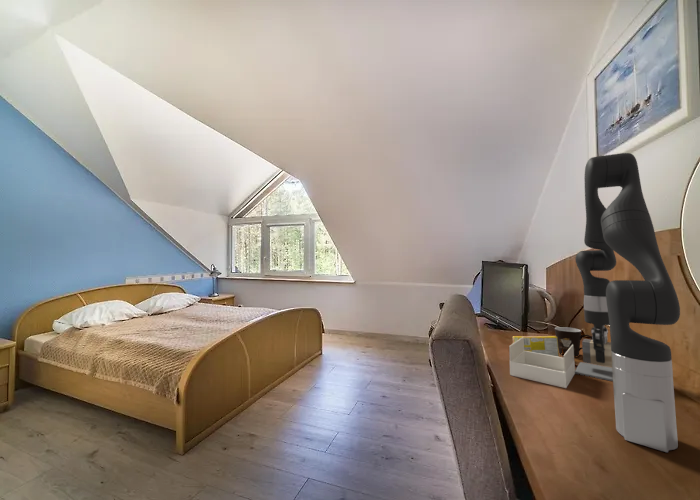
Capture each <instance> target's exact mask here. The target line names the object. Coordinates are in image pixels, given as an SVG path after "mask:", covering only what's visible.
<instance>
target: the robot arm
mask: <svg viewBox="0 0 700 500" xmlns="http://www.w3.org/2000/svg"><path fill="white" fill-rule="evenodd" d="M640 178H641V177H640V173H639V166H638V161H637V158H636V156H635V155H634V154H632V153H630V152H622V153H621V152H620V153H614V154H606V155H598V156H592V157H590V158H588V160H587V162H586V164H585V167H584V204H585V216H586V217H585V231H584V245H585V246H586V247H588V248H590V249H593V250H581V251H579V252H577V253H576V255H575V258H574V259H575V263H576V266H577V269H578V271H579V273H580V275H581V279H582V283H583V285H582V286H583V311H584V312H583V313H584V316H583V317H584V322H585V323H586V324H587V323H588V324H592V325H593V327H591V337H592V339H591V340H593V344H594V347H593V348H594V349H595V352H596V361H597V362H600V363H605V353H604V352H605V347H604V345H605V344H606V342H608V334H609V333H610V334H609V335H610V336H609V337H610V342H611V354H612V367H611V368H612V372H613V381H612V386H613V397H614V398H613V401H614V413H615V415H614V416H615V430H616V431H617V432H618V433H619V434H620V435H621V436H622V437H623V438H624V440H625V441H628V442H631V443H634V444H638V445H641V446H645V447H648V448H651V449H654V450H658V451H660V452H665V453H669V451H672V450H676V449H678V446H679V444H678V442H679V441H678V429H677V428H678V427H677V418H676V402H675V390H674V389H675V387H674V371H673V362H672V359H673V358H672V350H671V348H670V346H669V344H667V343H664V342H663V341H661V340H657V339H653V338H651V337H648V336H646V335H643V334H640V333H639V332H636V331H635V330H633V329H632V328H631V327H630V324H631V323H633V324H645V325H646V324H647V325H657V326H659V325H660V326H672V325H674V324H676V323H677V322H678V321H679V319H680V316H681V307H680V301H679V298H678V295H677V292H676V289H675V286H674V284H673V282H672V280H671V277H670V275H669V272H668V270H667V268H666V265H665V263H664V261H663V258H662V255H661V252H660V249H659V245H658V241H657V237H656V233H655V227H654V224H653V220H652V218H651V214H650V212H649V209H648V207H647V204H646V201H645V198H644V194H643V190H642V184H641V179H640ZM615 187H620V188H621V190H620V192H619V193H618V195H617V196H616V197H615V199H613V200H612V201H611V203H610V204H609V205H607V207H605V205H604V204H603V202H602V201H601V199H600V197H599V189H603V188H605V189H606V188H615ZM615 253H616V254H618V255H619V256H620V257H622V259H624V260H626V261H627V262H629V263H630V264H631V265H633V267H634V268H635V269H636V270H637V271H638V272H639V273H640V275H641V276H642V278H643V280H633V279H632V280H630V279H629V280H628V279H627V280H626V279H624V280H622V279H620V280H618V279H616V280H609V279H608V278H604V277H599V276H594V275H593V274H592V273H591V272H592V271H593V272H594V271H595V272H596V271H597V272H598V271H599V272H600V271H601V272H607V271H612V270H614V269H615V267H616V265H617V257H616V254H615ZM606 326H609V329H608V328H607V327H606ZM597 344H601V346H602V347H600V346H597Z"/></svg>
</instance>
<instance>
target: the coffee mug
mask: <svg viewBox="0 0 700 500" xmlns="http://www.w3.org/2000/svg"><path fill="white" fill-rule="evenodd" d="M554 331H555V332H554V333H555V336H556V337H557V340H558V352H559V353H560V354H559V355H561V353H562V349H563V352H564V354H565V353H566V351H567V350H568V349H569V348H570V347H571V345H573V347H574V356H578V355H579V356H580V351H581V350H583V349H582V347H581V340H583V339H584V337H588V338H590V340H592V335H589V334H582V330H581V329H578V328H575V327H566V326H565V327H562V326H558V327H557V326H556V327H554Z"/></svg>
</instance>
